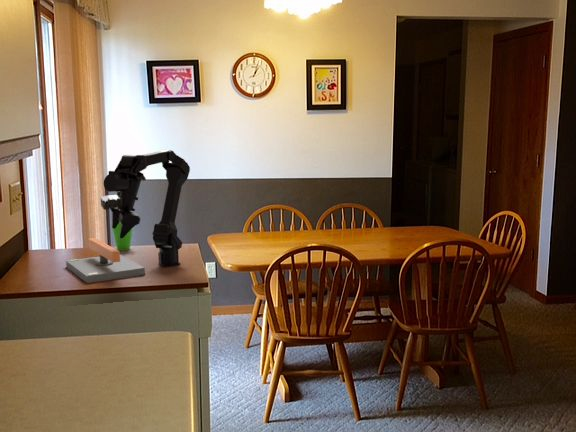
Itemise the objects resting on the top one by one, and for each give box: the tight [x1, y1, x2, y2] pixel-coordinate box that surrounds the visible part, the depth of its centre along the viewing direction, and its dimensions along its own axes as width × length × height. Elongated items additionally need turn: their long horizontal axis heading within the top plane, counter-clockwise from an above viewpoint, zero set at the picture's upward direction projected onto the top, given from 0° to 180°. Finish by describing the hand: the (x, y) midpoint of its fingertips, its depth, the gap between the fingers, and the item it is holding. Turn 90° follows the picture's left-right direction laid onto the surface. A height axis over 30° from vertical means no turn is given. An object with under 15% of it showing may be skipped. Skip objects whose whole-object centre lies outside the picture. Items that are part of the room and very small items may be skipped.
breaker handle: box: [87, 237, 121, 264], centre depth 220 cm, size 3×30×7 cm, turn 33°
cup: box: [110, 222, 133, 251], centre depth 258 cm, size 9×9×11 cm
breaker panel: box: [65, 254, 146, 284], centre depth 221 cm, size 20×28×3 cm
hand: (117, 233), depth 213 cm, fingers open, 9 cm apart
